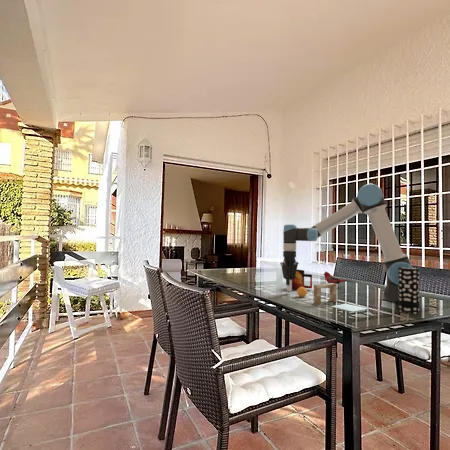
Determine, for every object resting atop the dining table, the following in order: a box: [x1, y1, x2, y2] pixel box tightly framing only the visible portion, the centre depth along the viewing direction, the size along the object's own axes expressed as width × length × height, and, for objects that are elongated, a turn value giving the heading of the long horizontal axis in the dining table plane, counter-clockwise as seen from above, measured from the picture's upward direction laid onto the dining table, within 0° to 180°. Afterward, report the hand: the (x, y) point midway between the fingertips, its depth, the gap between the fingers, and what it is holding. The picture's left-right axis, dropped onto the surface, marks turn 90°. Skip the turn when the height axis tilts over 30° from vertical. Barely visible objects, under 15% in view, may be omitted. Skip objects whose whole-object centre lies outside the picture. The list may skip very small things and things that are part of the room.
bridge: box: [313, 282, 338, 305], centre depth 158 cm, size 3×14×9 cm, turn 123°
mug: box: [292, 269, 313, 291], centre depth 198 cm, size 10×14×12 cm
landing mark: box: [330, 303, 368, 313], centre depth 146 cm, size 12×12×1 cm
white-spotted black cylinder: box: [397, 267, 420, 315], centre depth 141 cm, size 8×8×20 cm
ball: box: [296, 287, 308, 298], centre depth 171 cm, size 6×6×6 cm
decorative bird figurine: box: [323, 271, 347, 285], centre depth 207 cm, size 3×18×10 cm, turn 42°
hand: (289, 290), depth 179 cm, fingers closed
